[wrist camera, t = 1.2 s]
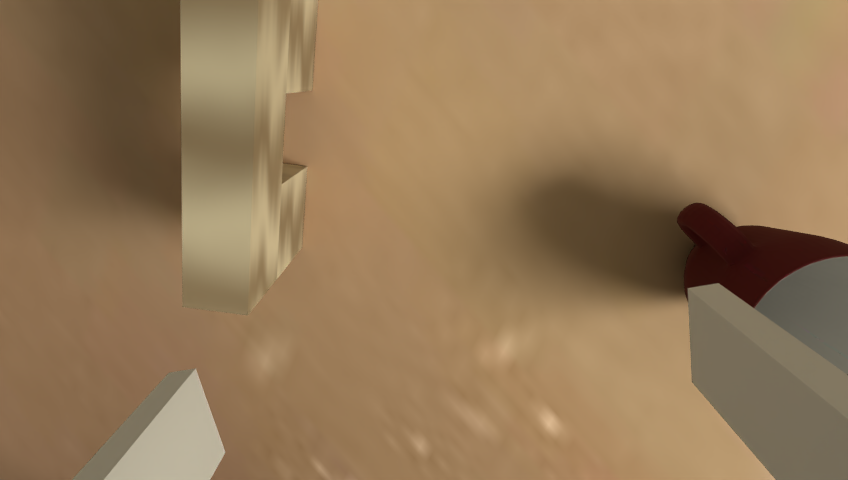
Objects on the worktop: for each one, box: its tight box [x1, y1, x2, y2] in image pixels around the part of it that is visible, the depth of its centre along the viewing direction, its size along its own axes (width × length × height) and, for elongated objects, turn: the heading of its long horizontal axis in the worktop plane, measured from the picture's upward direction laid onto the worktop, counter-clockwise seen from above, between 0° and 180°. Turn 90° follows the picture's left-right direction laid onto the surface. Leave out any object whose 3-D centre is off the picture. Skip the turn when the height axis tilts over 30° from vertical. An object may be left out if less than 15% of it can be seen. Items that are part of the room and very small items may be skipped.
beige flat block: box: [180, 0, 318, 315], centre depth 27 cm, size 15×3×10 cm, turn 173°
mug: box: [677, 203, 848, 374], centre depth 28 cm, size 10×8×10 cm
